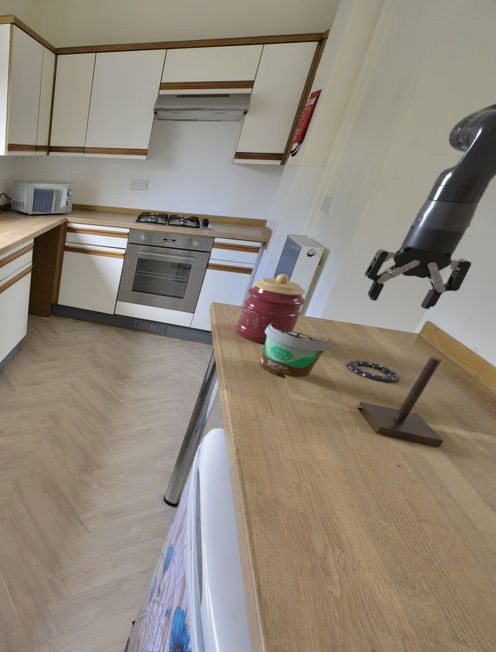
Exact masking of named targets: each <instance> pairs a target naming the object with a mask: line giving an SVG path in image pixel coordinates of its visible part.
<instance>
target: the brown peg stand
mask: <svg viewBox="0 0 496 652" xmlns="http://www.w3.org/2000/svg"><path fill="white" fill-rule="evenodd" d="M441 362H442V359H441V358H439V357H435V356H430V357H429V359H428V361H427V362H426V364H425V365H424V367H423V369H422V371H421V372H420V374H419V376H418V377H417V378H416V381H414V382H415V383H414V384H413V385H412V387H411V389H410V391H409V392H408V394H407V396H406V397H405V399H404V401H403V402H402V404H401V406H400V407H399V409H397V408H393V407H390V406H383V405H378V404H375V403H368V402H363V401H360V402H359V404H358V405H359V407H358V406H357V407H356V408H357V409H358V410H359V412H360V413H361V415H362V416H363V417H364V419H365V420H366V421H367V424H369V426H370V427H371V428H372V430H373V431H374V430H375V431H374V433H376V434H377V433H380V434H379V435H382V434H384V435H383V436H386V435H389V436H388V437H391V436H393V437H392V438H395V437H396V439H400V440H404V439H405V441H408V440H409V441H408V442H413V441H414V443H417V442H418V444H423V445H427V446H431V447H435V448H440V447H441V445H442V444H443V442H444V440H443V439H442V437H440V435H439V434H437V432H436V431H435V430H434V429H433V428H432V427H431V426H430V425H429V424H428V423H427V422H426V421H425V420H424V419H423V418H422V416H421V415H419V414H418V413H417V412H414V411H413V412H412V410H413V408H414V407H415V405H416V403H417V402H418V400H419V399H420V397H421V395H422V394H423V391H424V390H425V388H426V387H427V385H428V384H429V382H430V380H431V378H432V377H433V376H434V374H435V372H436V370H437V369H438V367H439V366H440V364H441Z"/></svg>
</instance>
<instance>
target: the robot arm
mask: <svg viewBox="0 0 496 652" xmlns="http://www.w3.org/2000/svg"><path fill="white" fill-rule="evenodd" d="M448 144H449V145H450V147H451V148H452V149H453V150H455V151H458V152H461V153H464V154H463V155H462V157H461V158H460V159H459V160H458V162H457V163H456V164H455V165H453V166H451V167H448V168H446V169H444V170H442V171H440V173H439V174H438V176H437V178H436V180H435V181H434V183H433V185H432V187H431V189H430V191H429V193H428V195H427V197H426V199H425V201H424V202H423V204H422V206H421V207H420V208H419V209H418V212H417V213H416V216H415V217H414V219H413V222H412V223H411V225H410V228H409V230H408V232H407V234H406V235H405V237H404V239H403V241H402V243H401V246H400V248H399V249H398V250H397V251H394V252H393V251H388V250H385V249H383V248H382V249H381V248H380V249H378V250H377V251H376V253H375V255H374V256H373V258H372V260H371V262H370V264H369V265H368V267H367V269H366V270H365V272H364V276H365V277H366V278H368V279H369V280H371V281H372V284H371V285H370V287H369V290H368V292H367V296H368V297H369V299H370V300H371V301H375V302H376V301H377V300H378V298H379V297H380V294H381V292H382V291H383V289H384V286H385V283H386V282H388V281H390V280H391V279H393V278H397V277H398V276H400V275H403V276H405V277H416V278H419V279H425V278H427V280H428V281H429V284H430V286H431V288H429V290H428V291H427V293H426V295H425V296H424V299H423V300H422V302H421V303H420V307H421V308H422V309H424V310H429V309H430V308H434V307H435V306H436V305H437V303H438V301H439V299H440V297H441V296H442V294H443V293H446V292H458V291H459V290H460V289H461V286H462V284H463V282H464V280H465V278H466V276H467V274H468V272H469V270H470V268H471V266H472V262H471V261H469V260H466V259H464V258H459V259H452V256H453V254H454V253H455V251H456V249H457V247H458V245H459V244H460V242H461V240H462V239H463V237H464V235H465V233H466V231H467V230H468V228H469V227H470V226H471V223H472V221H473V219H474V216H475V214H476V211H477V208H478V207H479V204H480V202H481V201H482V199H483V197H484V195H485V194H486V191H487V190H488V188H489V187H490V184H491V182H492V180H493V179H494V178H495V177H496V103H494V104H491V105H489V106H486V107H483V108H481V109H478V110H476V111H474V112H472V113H469V114H468V115H466V116H465V117H463V118H462V119H460V120H459V121H458V122H457V123H456V124H455V125H454V126H453V127H452V129H451V131H450V132H449V135H448ZM391 259H393V261H394V264H392V265H391V266H388V267H387V268H385V269H384V271H382V272H380V269H381V268H382V266H383V264H384V263H386V262H388V261H390V260H391ZM448 267H450V270H451V273H450V274H449V277H448V279H447V281H446V282H445V283H444V280H443V277H442V274H441V273H440V272H441V271H442V270H444V269H445V268H448ZM379 272H380V273H379Z"/></svg>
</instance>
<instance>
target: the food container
mask: <svg viewBox="0 0 496 652" xmlns="http://www.w3.org/2000/svg"><path fill="white" fill-rule="evenodd" d="M265 334H266V335H267V338H266V342H265V344H264V347H263V351H262V354H261V358H260V367H261V368H263V370H265V371H266V372H268V373H270V374H271V375H274V376H277V377H280V378H284V379H286V376H290V377H296V378H297V377H298V378H301V377H303V378H304V377H307V376H309V375H310V374H311V372H312V370H313V369H314V367H315V366H316V364H317V362H318V361H319V360H320V357H321V356H322V355H323V353H324V352H325V351H328V350H330V349H331V343H332V341H331V338H329V339H327V340H321V339H318V338H313V337H311V336H308V335H306V334H303V333H301V332H297V331H293V332H292V331H286V330H281V329H278V328H274V327H272V326H271V324H270V325H268V327H267V328H266V330H265Z"/></svg>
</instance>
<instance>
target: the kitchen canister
mask: <svg viewBox="0 0 496 652" xmlns="http://www.w3.org/2000/svg"><path fill="white" fill-rule="evenodd" d="M289 278H290V277H289V275H287V274H285V273H280V274H278V275H277V276H276V277H275V278H273V277H264V278H262V279H259V280H256V281H254V283H253V284H254V287H251V288H248V290H247V293H248V297H247V299H245V300H244V302H243V307H242V310H241V312H240V316H239V318H238V320H237V321H236V326H235V331H236V333H238V335H239V336H241V337H243V338H245V339H247V340H250V341H253V342H256V343H259V344H264V345H265V342H266V338H267V335H266V334H265V330H266V328H267V327H268V325H270V324H271V326H272V327H274V328H278V329H281V330H286V331H292V332H294V329H295V327H296V324H297V322H298V319H299V317H300V316H301V314H302V313H301V307H302V306H303V305H305V304H306V303H307V301H306V299H305V298H304V296H303V295H305V294H306V290H305V289H304V288H302V286H301V285H300V284H299V283H296V282H293V281H291V280H289Z"/></svg>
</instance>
